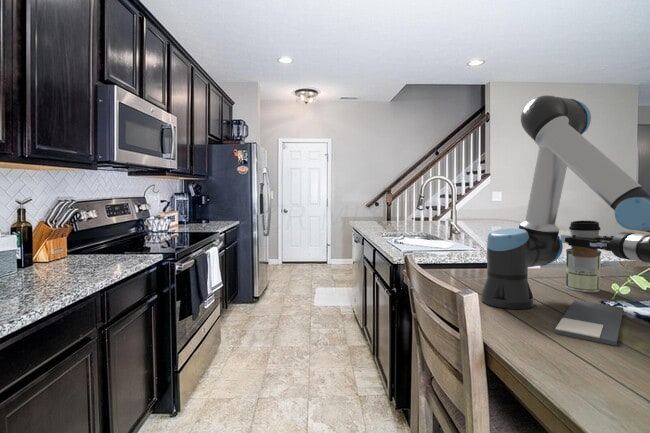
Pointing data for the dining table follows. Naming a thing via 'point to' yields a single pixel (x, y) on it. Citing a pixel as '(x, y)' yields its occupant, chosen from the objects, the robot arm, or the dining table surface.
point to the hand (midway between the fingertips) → (573, 238)
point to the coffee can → (582, 275)
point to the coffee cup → (583, 255)
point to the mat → (591, 322)
